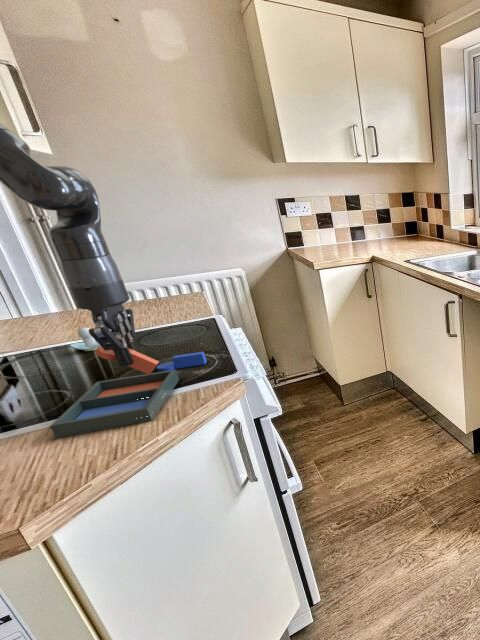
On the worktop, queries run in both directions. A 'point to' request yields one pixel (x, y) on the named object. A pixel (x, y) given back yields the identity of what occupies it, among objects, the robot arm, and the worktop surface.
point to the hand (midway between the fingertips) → (129, 362)
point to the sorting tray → (116, 403)
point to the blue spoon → (183, 361)
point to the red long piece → (140, 360)
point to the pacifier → (86, 341)
